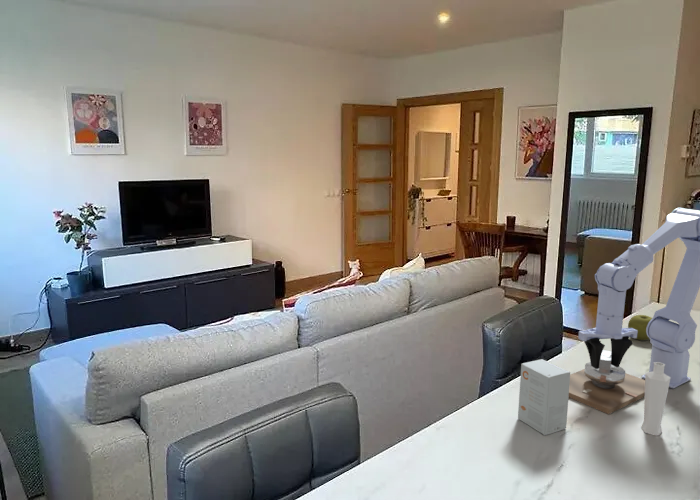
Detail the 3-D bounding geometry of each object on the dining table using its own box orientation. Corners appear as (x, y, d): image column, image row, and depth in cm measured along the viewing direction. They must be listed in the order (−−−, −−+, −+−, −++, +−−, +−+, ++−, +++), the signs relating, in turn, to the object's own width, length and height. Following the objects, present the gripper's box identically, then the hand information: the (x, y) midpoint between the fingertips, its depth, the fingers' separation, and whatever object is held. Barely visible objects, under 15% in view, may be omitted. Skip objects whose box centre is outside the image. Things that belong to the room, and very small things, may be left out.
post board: (597, 367, 144) (598, 357, 144) (659, 389, 131) (660, 378, 130) (547, 388, 132) (548, 376, 131) (609, 414, 119) (611, 402, 118)
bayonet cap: (586, 366, 137) (588, 346, 136) (625, 373, 133) (627, 352, 132) (581, 382, 128) (583, 360, 126) (623, 390, 123) (625, 368, 122)
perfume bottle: (667, 437, 110) (676, 369, 107) (644, 435, 110) (652, 367, 108) (659, 426, 114) (667, 360, 111) (637, 424, 115) (645, 358, 112)
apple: (660, 343, 162) (663, 320, 161) (634, 343, 162) (636, 320, 161) (647, 334, 169) (649, 313, 168) (622, 334, 170) (624, 313, 168)
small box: (566, 429, 113) (571, 371, 110) (544, 436, 110) (549, 377, 108) (538, 412, 120) (542, 358, 118) (516, 418, 117) (520, 363, 115)
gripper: (593, 320, 123) (587, 375, 125) (648, 317, 125) (642, 371, 128) (575, 311, 129) (570, 363, 132) (628, 308, 132) (622, 359, 135)
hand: (604, 366), depth 130 cm, fingers closed on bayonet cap, 5 cm apart
